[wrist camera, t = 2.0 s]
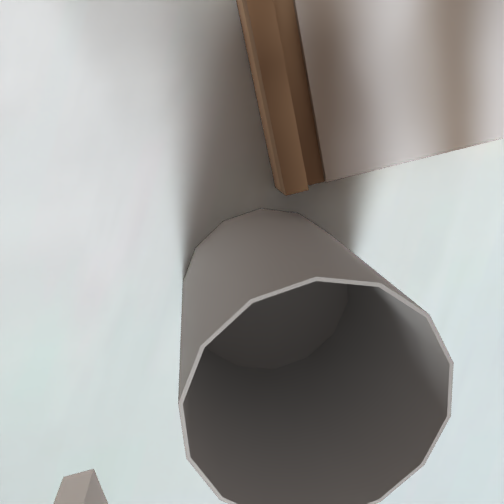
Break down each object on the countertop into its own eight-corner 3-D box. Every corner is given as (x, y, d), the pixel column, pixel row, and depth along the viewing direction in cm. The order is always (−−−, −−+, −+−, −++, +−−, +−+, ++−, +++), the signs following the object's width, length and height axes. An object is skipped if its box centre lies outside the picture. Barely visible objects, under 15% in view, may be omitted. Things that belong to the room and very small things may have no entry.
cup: (372, 313, 24) (491, 437, 15) (239, 391, 24) (271, 564, 15) (297, 175, 22) (382, 219, 12) (150, 265, 22) (120, 377, 12)
